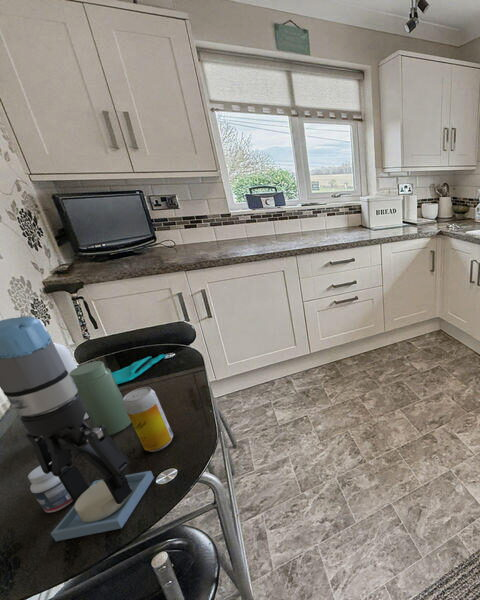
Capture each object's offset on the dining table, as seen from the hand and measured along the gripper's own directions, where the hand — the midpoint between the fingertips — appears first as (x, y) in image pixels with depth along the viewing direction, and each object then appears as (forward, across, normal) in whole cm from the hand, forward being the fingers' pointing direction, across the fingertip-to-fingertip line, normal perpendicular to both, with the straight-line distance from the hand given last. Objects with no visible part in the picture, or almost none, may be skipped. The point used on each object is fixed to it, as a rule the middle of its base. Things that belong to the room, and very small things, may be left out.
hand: (103, 496), depth 64 cm
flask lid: (-1, 0, 0) cm, 1 cm away
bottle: (+3, -37, +26) cm, 46 cm away
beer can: (+3, -3, +16) cm, 17 cm away
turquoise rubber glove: (+3, -43, +47) cm, 63 cm away
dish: (+3, 0, 0) cm, 3 cm away
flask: (+3, -22, +22) cm, 31 cm away
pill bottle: (+3, -12, +1) cm, 12 cm away
